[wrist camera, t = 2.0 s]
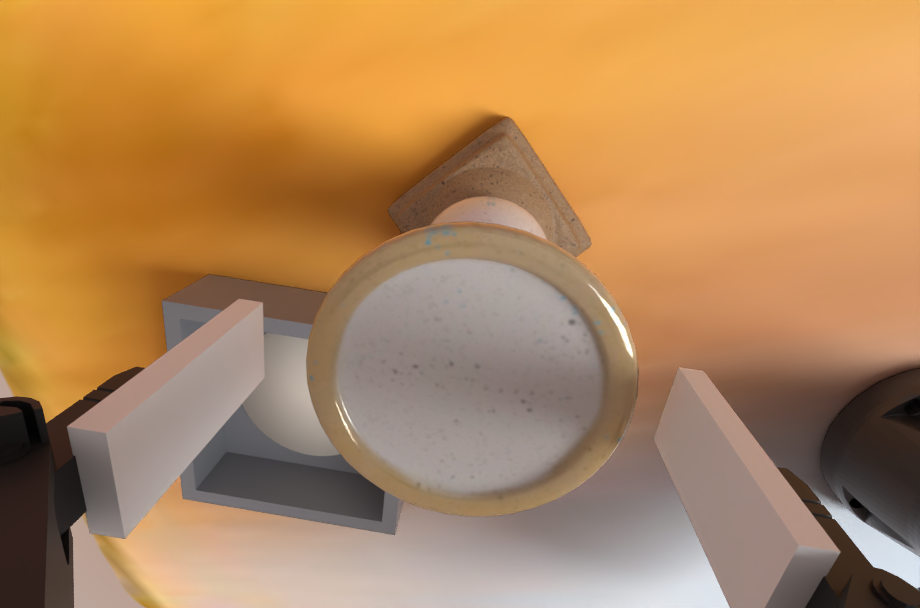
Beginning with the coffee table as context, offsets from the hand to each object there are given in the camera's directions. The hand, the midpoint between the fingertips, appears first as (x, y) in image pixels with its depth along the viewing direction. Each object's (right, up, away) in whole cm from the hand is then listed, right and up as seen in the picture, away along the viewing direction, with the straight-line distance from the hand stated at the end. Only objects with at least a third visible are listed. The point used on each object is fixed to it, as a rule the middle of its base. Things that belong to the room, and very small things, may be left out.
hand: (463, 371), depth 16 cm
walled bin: (-13, -5, +28) cm, 31 cm away
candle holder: (+2, +8, +22) cm, 23 cm away
